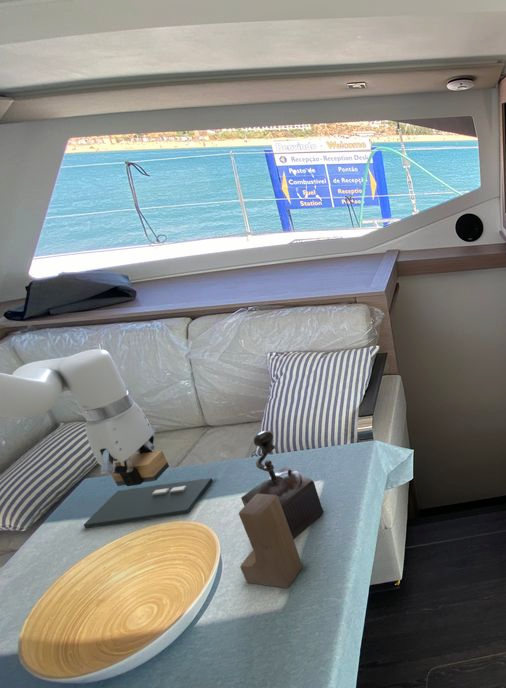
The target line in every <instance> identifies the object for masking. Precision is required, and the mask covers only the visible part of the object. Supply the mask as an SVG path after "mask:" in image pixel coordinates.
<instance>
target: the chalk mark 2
mask: <svg viewBox="0 0 506 688" xmlns="http://www.w3.org/2000/svg"><path fill="white" fill-rule="evenodd" d="M186 488H187V487H186V486H181V487H174V488H172V489H171V491H170V493H175V492H182V491H184V490H185V489H186Z"/></svg>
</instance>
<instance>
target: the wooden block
mask: <svg viewBox="0 0 506 688" xmlns="http://www.w3.org/2000/svg"><path fill="white" fill-rule="evenodd" d="M238 516H239V518H240V521H241V523H242V526H243V528H244V531H245V533H246V536H247V538H248V541H249V543H250V545H251V548H252V551H251V552H250V553H249V555H247V557H246V558H245V559H244V561H243V562H242V563H241V564H240V566H239V568H240V571H241V573H242V574H243V577H244V579H245V582H246V583H249V584H254V585H255V584H256V585H262V586H270V587H276V588H277V587H278V588H284V589H288V588H289V587H290V586H291V584H292V583H293V581H294V580H295V579H296V577H297V576H298V574H299V573H300V571H301V570H302V568H303V562H302V560H301V557H300V554H299V552H298V548H297V547H296V543H295V540H294V539H293V537H292V534H291V532H290V529H289V526H288V523H287V520H286V517H285V515H284V512H283V509H282V506H281V503H280V501H279V498H278V496H277V495H269V494H256V495H255V496H254V497H253V498H252V499H251V500H250V501H249V502H248V503H247V504H246V505H245V506H244V505H243V508H242V509H241V510H239V512H238Z"/></svg>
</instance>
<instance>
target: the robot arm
mask: <svg viewBox="0 0 506 688" xmlns="http://www.w3.org/2000/svg"><path fill="white" fill-rule="evenodd" d="M67 391H69V392H70V393H71V395H72V397H73V398H74V400H75V402H76V404H77V406H78V408H79V410H80V412H81V414H82V415H83V418H84V419H85V420H86V422H87V423H86V424H85V425H84V429H85V434H86V438H87V441H88V444H89V448H90V450H91V452H92V454H93V456H94V458H95V460H96V462H97V463H98V464H99V466H100V474H101V475H108V474H111V473H116V474H120V475H121V477H122V479H123V481H124V483H125V485H124V486H126V487H131V486H139V485H142V484H143V483H144V482H143V480H142V478H141V476H140V474H139V472H138V470H137V469H136V468H133V465H132V461H131V457H130V456H132V455H134V454H136V453H137V454H141V453H148V452H154V450H155V445H154V441H155V440H154V439H155V438H154V437H155V434H156V431H157V427H154V426H152V425H151V424H150V422H149V419H148V418H147V416H146V415H145V413H144V411H143V410H142V409H141V407H140V406H139V405H138V404H137V402H136V401H134V400H133V399H132V396H131V394H130V393H131V392H130V389H128V388H127V386H126V383H125V382H124V380H123V378H122V376H121V374H120V372H119V369H118V367H117V365H116V363H115V361H114V360H113V357H112V356H111V354H110V352H109V351H107V350H106V349H101V348H96V349H88V350H84V351H81V352H77V353H74V354H72V355H70V356H64V357H63V356H62V357H56V358H51V359H49V358H48V359H42V360H37V361H32V362H29V363H26V364H23V365H20V366H19V367H17V369H15V370H14V371H13V372H12V374H8V373H4V372H0V418H3V419H13V420H14V419H15V420H16V419H18V420H21V419H31V418H34V417H39V416H42V415H43V414H45V413H47V412H49V411H50V410H51V409H52V408H53V407H54V406H56V404H57V402H58V401H59V398H60V397H61V395H62V394H63V393H65V392H67ZM121 462H124V465H125V466H121Z"/></svg>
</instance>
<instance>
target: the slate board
mask: <svg viewBox="0 0 506 688" xmlns="http://www.w3.org/2000/svg"><path fill="white" fill-rule="evenodd" d="M213 481H214V480H213V478H212V477H208V478H202V479H194V480H186V481H180V482H172V483H164V484H158V485H150V486H141V487H135V488H129V489H120V490H117V491H116V492H115V493H114V494H113V495H112V496H111V497H109V499H107V501H106V502H105V503H103V505H102V506H101V507H99V508H98V509H97V511H95V513H94V514H93V515H91V517H90V518H89V519H87V521H86V522H85V523H83V527H84V528H85V529H88V528H92V527H93V528H95V527H101V526H107V525H108V526H109V525H115V524H121V523H122V524H123V523H128V522H136V521H142V520H143V521H144V520H150V519H157V518H164V517H171V516H178V515H185V514H189V513H190V511H191V510H192V509H193V508H194V506H195V505H196V504H197V503H198V501H199V500H200V498H201V497H202V496H203V494H204V493H205V492H206V491H207V490H208V488H209V487H210V485H211V484H212V483H213ZM181 486H186V487H187V488H186V489H185V490H184V491H182V492H175V493H170V491H171V489H172V488H174V487H181ZM167 488H169V491H168V492H167V493H166V494H160V495H153V494H152V493H153V492H154V491H155V490H160V489H167Z"/></svg>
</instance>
